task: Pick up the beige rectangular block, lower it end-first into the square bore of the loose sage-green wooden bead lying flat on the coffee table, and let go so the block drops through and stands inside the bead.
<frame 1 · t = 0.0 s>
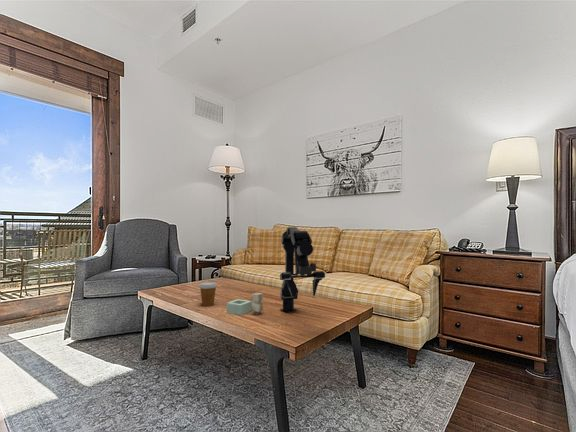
hand: (303, 296, 128), 15 cm above the table, fingers open, 9 cm apart
disposable coffee cup: (208, 305, 173), on the table
beige rectangular block: (257, 313, 156), on the table
bead: (239, 311, 159), on the table
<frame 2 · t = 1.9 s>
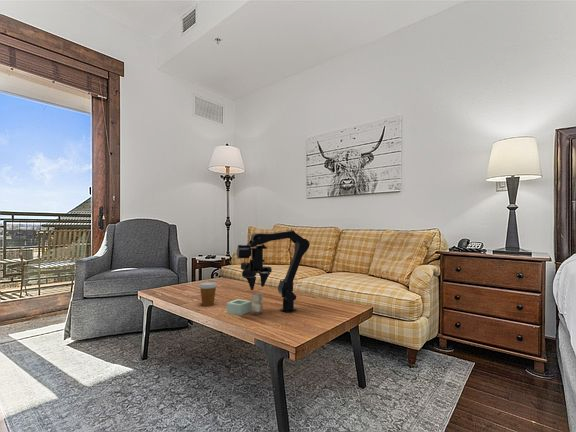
hand: (257, 288, 156), 13 cm above the table, fingers open, 9 cm apart
nothing on the table moved.
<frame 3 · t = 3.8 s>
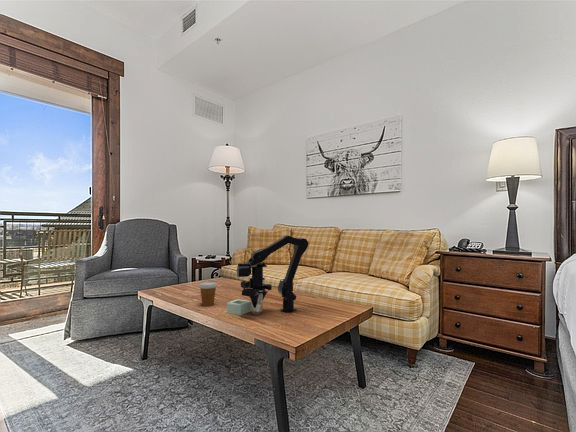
hand: (257, 306, 156), 4 cm above the table, fingers closed on beige rectangular block, 4 cm apart
beige rectangular block: (257, 313, 156), on the table, touching gripper
everything else where it was.
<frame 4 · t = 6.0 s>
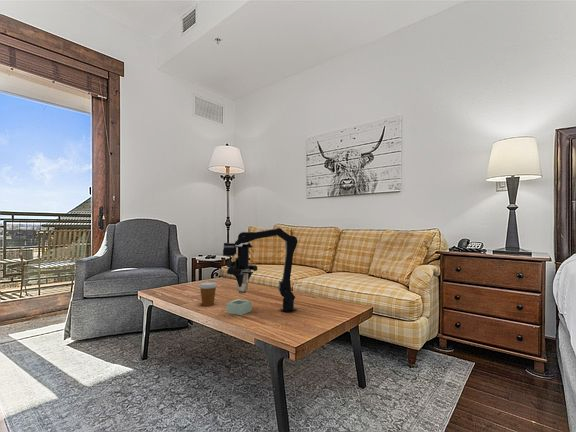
hand: (242, 286, 159), 13 cm above the table, fingers closed on beige rectangular block, 4 cm apart
beige rectangular block: (242, 293, 159), point 10 cm above the table, touching gripper
everything else where it was.
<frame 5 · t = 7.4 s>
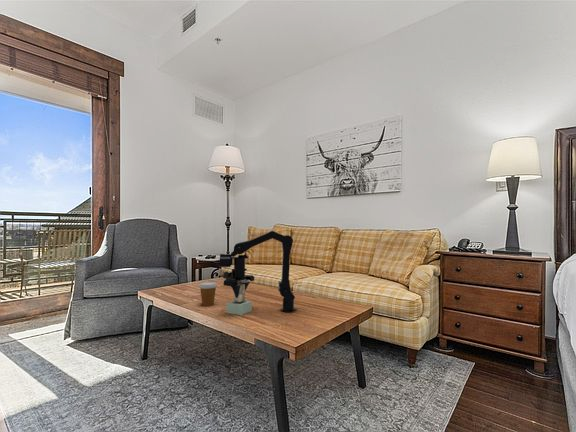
hand: (239, 296, 160), 8 cm above the table, fingers closed on beige rectangular block, 4 cm apart
beige rectangular block: (239, 303, 160), point 4 cm above the table, touching gripper
everything else where it was.
when the fingers open (6 cm above the table, at t = 8.4 s): beige rectangular block drops 3 cm, resting in bead.
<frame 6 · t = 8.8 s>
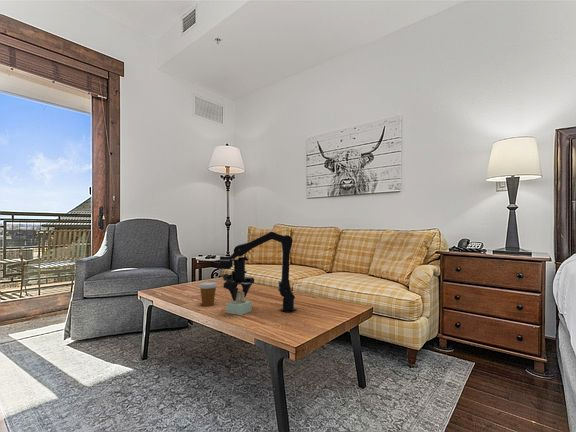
hand: (239, 299, 160), 6 cm above the table, fingers open, 8 cm apart
beige rectangular block: (239, 311, 160), resting in bead
everything else where it was.
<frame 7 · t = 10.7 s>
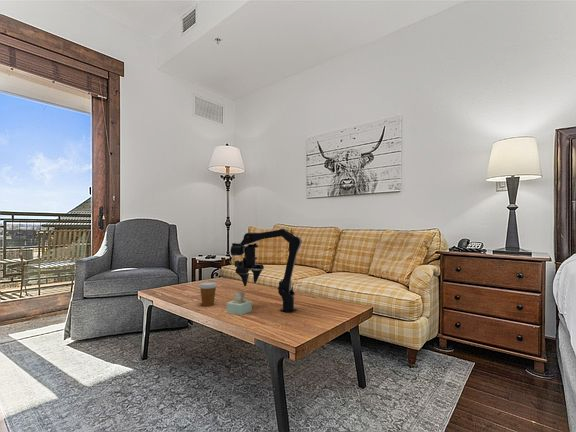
hand: (250, 284, 166), 13 cm above the table, fingers open, 9 cm apart
nothing on the table moved.
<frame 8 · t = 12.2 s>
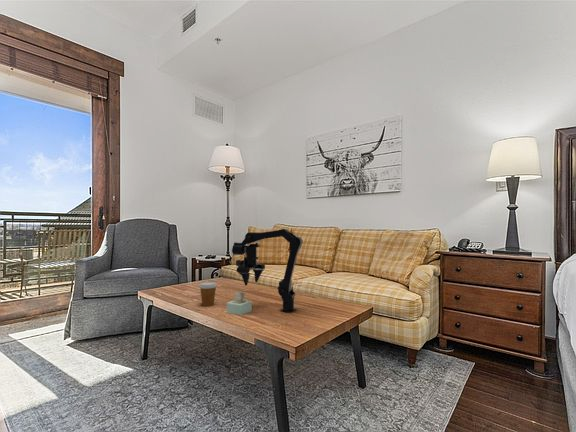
hand: (251, 283, 167), 13 cm above the table, fingers open, 9 cm apart
nothing on the table moved.
at the end: beige rectangular block 0.1 cm from the bead (horizontally); beige rectangular block resting in bead; beige rectangular block tilted 0° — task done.
